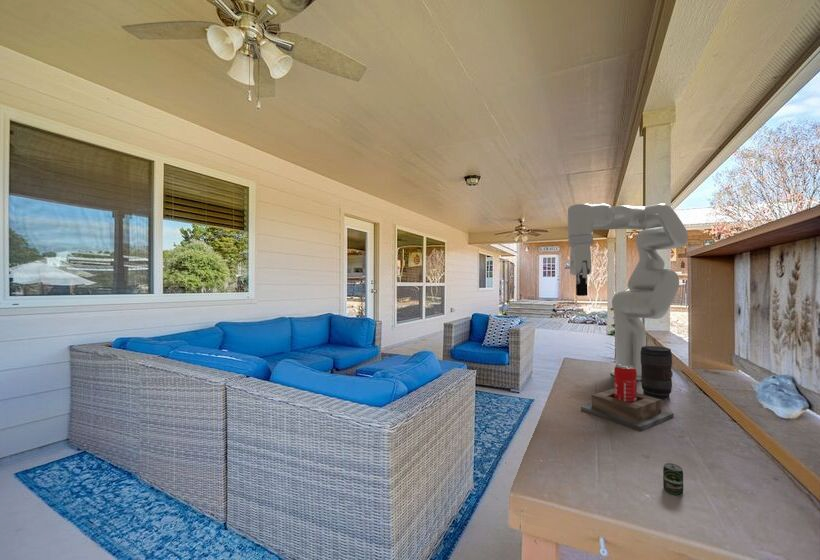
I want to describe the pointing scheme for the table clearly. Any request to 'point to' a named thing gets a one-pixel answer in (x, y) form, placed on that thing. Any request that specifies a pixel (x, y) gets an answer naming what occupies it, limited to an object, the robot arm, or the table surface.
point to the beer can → (673, 479)
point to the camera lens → (656, 371)
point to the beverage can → (625, 383)
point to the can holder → (628, 410)
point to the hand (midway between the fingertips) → (581, 295)
